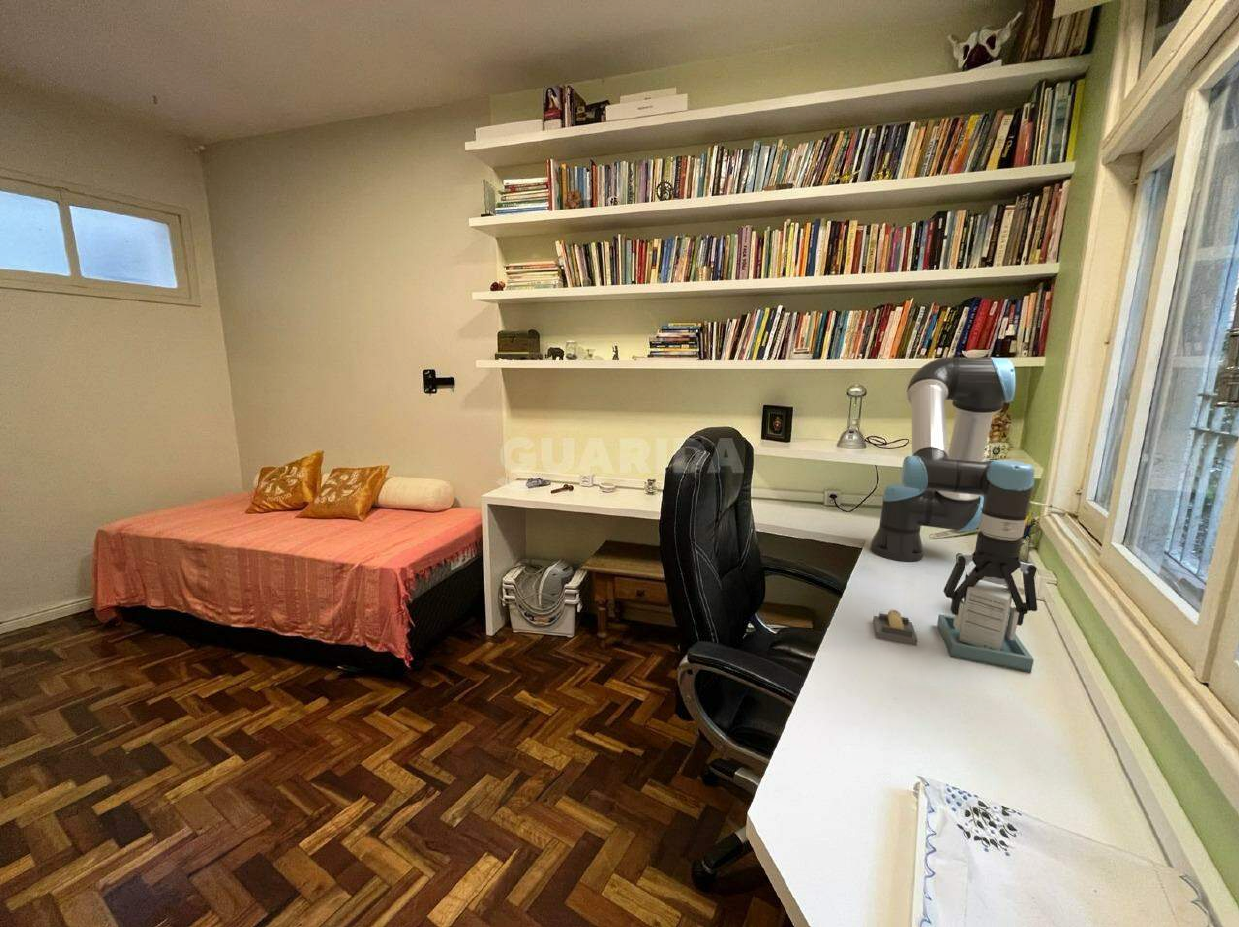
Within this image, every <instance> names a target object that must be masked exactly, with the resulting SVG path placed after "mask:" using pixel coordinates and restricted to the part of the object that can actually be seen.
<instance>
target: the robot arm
mask: <svg viewBox="0 0 1239 927" xmlns="http://www.w3.org/2000/svg"><path fill="white" fill-rule="evenodd" d="M1016 384H1017V383H1016V370H1015V367H1014V363H1013V362H1012V361H1011V360H1010V359H1008V358H1003V357H1002V358H1001V357H999V358H998V357H993V356H991V357H985V356H984V357H951V356H949V357H948V356H947V357H941V358H936V359H934V360H932V361H930V362H928V363H925V364H924V365H923V366H921V367H920V368H919V369H918V370H917V371H915V373H914V374H913V376H912V377H911V378H910V380H909V382H908V384H907V391H906V392H907V393H906V395H907V400H908V403H910V404H911V455H908V456H905V457H904V459H903V463H902V469H901V482H894V483H889V484H888V485H886V486H885V488H884V489H883V496H882V497H881V500H882V504H881V510H880V511H881V512H880V517H879V518H880V519H879V525H878V529H877V530H876V532H875V534H874V537H873V539H872V540H871V542H870V551H871V552H872V553H874V554H875V555H877V556H880V557H882V558H885V559H889V560H893V561H900V562H918V561H921V560H922V559H923V557H924V547H923V543H922V539H921V535H920V534H921V528H922V527H928V528H929V527H930V528H938V529H944V530H952V531H957V532H960V531H961V532H962V531H963V532H973V531H975V530H976V529H977V528H978V529H979V532H977V537H976V543H975V548H974V549H975V550H974V552H973V553H972V554H968V555H967V554H962V553H960V552H959V553H957V554H955V555H956V557H955V565H954V567H953V569H952V571H951V573H950V575H949V577H948V580H947V581H946V583H945V585H944V588H943V593H944V596H945V597H946V598H948V599H951V604H950V611H951V614H952V615H953V617H954V623H953V625H954V627H955V629H956V631H960V629H961V623H962V617H963V611H964V606H965V603H964V597H965V596H966V594H967V588H968V587H974V586H975V585H976V584H977V583H978V581H979V580H982V579H983V578H984V577H996V578H999V579H1003V578H1004V580H1005V582H1006V585H1007V587H1008V589H1009V590H1010V592H1011V593H1012V601H1013V603H1014V605H1015V606H1013V605H1011V606H1010V611H1009V616H1008V622H1007V628H1006V635H1007V637H1008V638H1009V640H1013V641H1014V638H1015V634H1016V632H1017V626H1022V625H1023V623H1024V618H1025V615H1026V614H1028V612H1029V611H1031V612H1036V611H1038V603H1037V602H1038V601H1037V592H1036V585H1035V584H1036V583H1035V576H1036V573H1037V570H1038V568H1037V567H1036V565H1034V563H1032V562H1029V561H1028V562H1023V561H1020V556H1021V549H1022V545H1023V540H1022V538H1023V537H1024V534H1025V528H1026V523H1027V518H1028V517H1027V516H1028V512H1029V507H1030V501H1031V497H1032V492H1033V487H1034V485H1035V471H1036V470H1035V467H1034V465H1032V464H1030V463H1028V462H1027V463H1025V462H1023V461H1017V460H1016V461H1015V460H1009V459H1008V460H1006V459H1002V460H1001V459H997V460H994V459H993V460H992V459H991V460H989V459H988V460H984V461H983V459H984V456H985V451H986V448H987V443H988V438H989V435H990V431H991V427H992V423H993V418H994V415H995V414H996V413H999V412H1000V411H1001V410H1003V407H1004V403H1006V404H1008V403H1011V402H1012V401H1013V399H1014V397H1015V394H1016V393H1015V392H1016ZM946 400H950V401H952V403H951V405H952V407H953V408H954V410H956V415H955V419H954V425H953V429H952V433H951V438H950V442H949V443H948V434H947V433H948V432H947V419H946V418H947V417H946V404H945V401H946ZM948 444H949V447H948ZM971 562H972V563H973V564H974V565H975V566H974V567H973V568H972V569H971V570H972V572H971V573H970V575H969V576H968V577H967V578H966V579H964V580H963V581H962V582H961V583H960V585H959V582H960V580H961V579H962V576H963V575H964V571H965V569H966V566H969V565H970V563H971ZM1018 569H1020V571H1021V573H1022V578H1023V588H1024V597H1025V602H1024V601H1023V599H1022V596H1021V594H1020V591H1019V590H1018V587H1017V585H1016V582H1015V579H1014V577H1013V573H1015V571H1017V570H1018ZM957 586H958V587H957Z"/></svg>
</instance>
